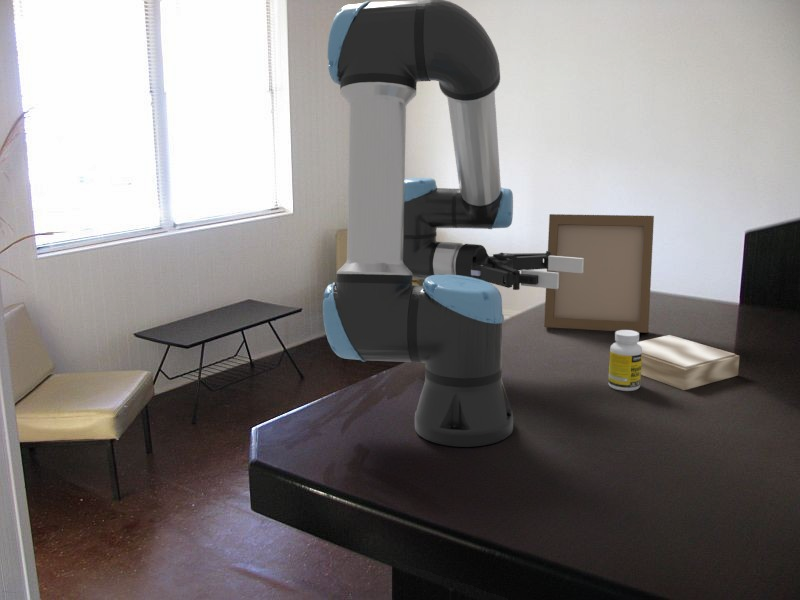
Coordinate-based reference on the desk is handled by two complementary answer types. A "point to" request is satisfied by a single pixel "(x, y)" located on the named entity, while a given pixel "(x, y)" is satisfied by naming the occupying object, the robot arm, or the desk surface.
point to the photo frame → (601, 272)
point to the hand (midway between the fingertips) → (571, 273)
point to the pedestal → (685, 362)
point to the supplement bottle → (625, 361)
